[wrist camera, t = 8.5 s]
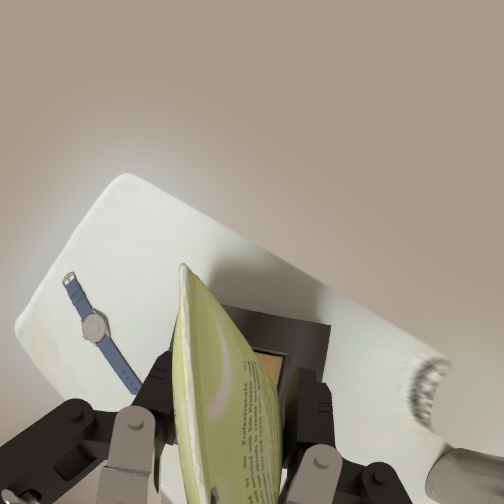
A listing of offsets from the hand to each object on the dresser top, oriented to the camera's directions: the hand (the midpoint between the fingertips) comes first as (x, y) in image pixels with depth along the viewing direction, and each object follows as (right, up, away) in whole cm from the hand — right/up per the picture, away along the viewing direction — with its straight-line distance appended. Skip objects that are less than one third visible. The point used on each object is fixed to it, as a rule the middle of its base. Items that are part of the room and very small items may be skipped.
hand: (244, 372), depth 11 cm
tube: (0, -6, +10) cm, 11 cm away
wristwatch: (-20, -6, +23) cm, 31 cm away
